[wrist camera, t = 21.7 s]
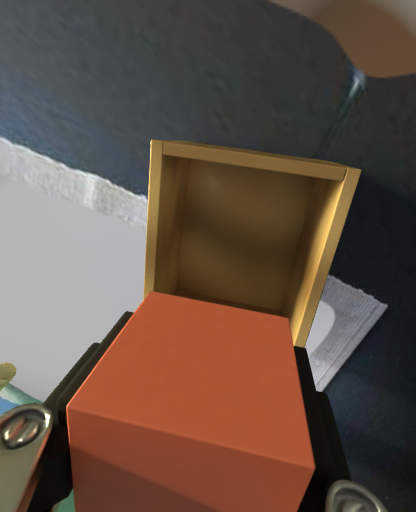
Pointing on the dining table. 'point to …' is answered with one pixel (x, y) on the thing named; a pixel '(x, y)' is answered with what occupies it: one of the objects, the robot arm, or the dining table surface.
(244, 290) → the light wood open box
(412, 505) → the dining table surface
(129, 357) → the block
